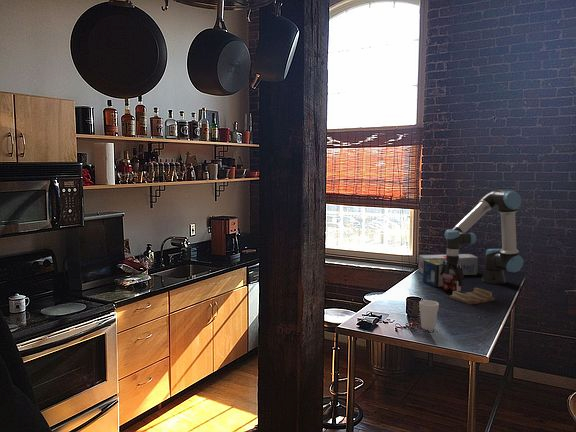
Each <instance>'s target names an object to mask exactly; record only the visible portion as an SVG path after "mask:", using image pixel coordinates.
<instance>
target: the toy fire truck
mask: <svg viewBox="0 0 576 432" xmlns="http://www.w3.org/2000/svg"><path fill="white" fill-rule="evenodd" d="M442 277H443V287H442V289H443V290H445V291H448V290H449V289H450V290H451V291H452V292H453V291H457V281H458V279H457V277H456V274H455V275H454V274H449V273H443V274H442ZM459 279H460V278H459ZM462 288H463V284H462V285H461V289H462ZM457 292H458V291H457Z"/></svg>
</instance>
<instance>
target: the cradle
mask: <svg viewBox="0 0 576 432" xmlns="http://www.w3.org/2000/svg"><path fill="white" fill-rule="evenodd" d="M492 294H493V293H492V291H489V290H485V289H482V288H478V287H474V288H473V290H472V291H468V292H461V291H452V294H450V295H449V299H453V300H456V301H458V302H461V303H464V304H467V305H476V304H482V303H488V302H493V301H495V297H493V295H492Z"/></svg>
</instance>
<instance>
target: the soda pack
mask: <svg viewBox="0 0 576 432" xmlns="http://www.w3.org/2000/svg"><path fill="white" fill-rule="evenodd" d="M446 255H447V253H446V254H419V255H418V256H419V257H418V273H419V272H420V273H419V274H421V275H422V274H423V266H424V260H432V259H437V260H440V261H447V260H446ZM458 256H459V261H458V265H462V271H463V275H464V276H476V275H478V265H479V262H478V261H479V257H478V256H475V255H474V254H471V253H459V255H458ZM449 274H454V276H455V272H454V271H453V270H452V269H450V270H449Z"/></svg>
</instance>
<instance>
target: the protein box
mask: <svg viewBox="0 0 576 432" xmlns="http://www.w3.org/2000/svg"><path fill="white" fill-rule="evenodd" d="M442 266H443V261H440V260H437V259H432V260H424V266H423V275H422V283H425V284H427V285H429V286H432V287H435V288H443V280H442V279H443V277H442V275H440V272H441V269H442ZM448 273H449V272H448Z"/></svg>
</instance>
